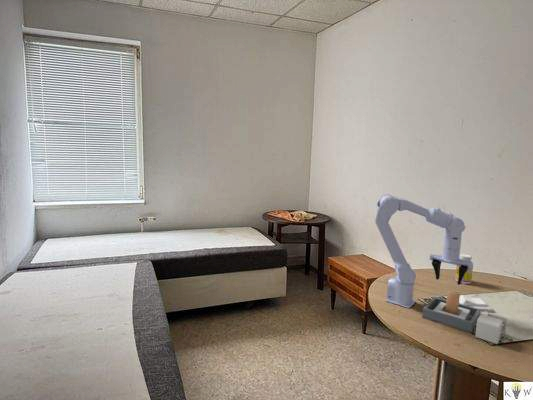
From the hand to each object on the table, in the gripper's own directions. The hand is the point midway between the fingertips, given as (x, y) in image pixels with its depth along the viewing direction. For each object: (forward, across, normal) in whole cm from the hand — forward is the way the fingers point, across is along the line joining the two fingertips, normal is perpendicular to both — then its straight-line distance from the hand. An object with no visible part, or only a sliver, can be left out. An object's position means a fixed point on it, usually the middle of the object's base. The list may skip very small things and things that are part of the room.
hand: (448, 281), depth 135 cm
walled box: (+10, +4, -9) cm, 14 cm away
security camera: (+7, +17, -8) cm, 20 cm away
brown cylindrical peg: (+10, +4, -9) cm, 14 cm away
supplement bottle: (+11, -1, +35) cm, 37 cm away
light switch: (+11, +7, +9) cm, 16 cm away
